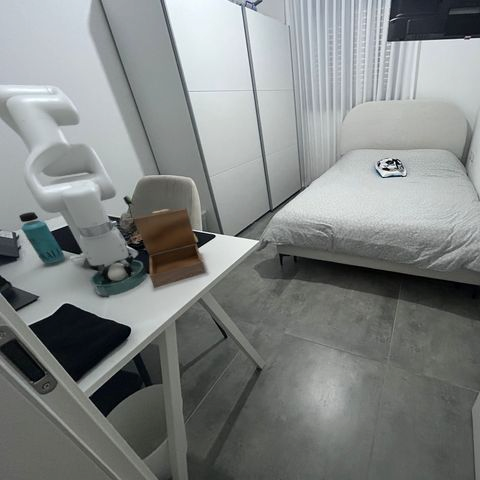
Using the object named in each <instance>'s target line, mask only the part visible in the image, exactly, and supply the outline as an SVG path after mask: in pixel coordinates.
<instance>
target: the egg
mask: <svg viewBox="0 0 480 480" xmlns="http://www.w3.org/2000/svg"><path fill="white" fill-rule="evenodd" d="M126 276H127V273H126V271H125V269H124V264H122V263H117V262H115V263H113V264H112V265H111V266H110V267H109V270H108V277H109V278H110V279H111V280H112V282H113V281H114V282H121V281H123V280H125V279H126Z"/></svg>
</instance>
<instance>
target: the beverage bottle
mask: <svg viewBox="0 0 480 480" xmlns="http://www.w3.org/2000/svg"><path fill="white" fill-rule="evenodd" d="M18 216H19V219H20V221H21V222H22V223H24V224H23V225H22V226H21V229H20V230H22V232H23V233H24V235H25V237H26V239H27V241H28V243H29V244H30V245H31V246H32V247H33V250H34V251H35V253H36V255H37V256H38V258H39V260H40V261H41V262H42V263H44V264H52V263H55V262H59V261H61V260H63V258H64V257H65V253H64V252H63V250H62V248H61V246H60V244H59V243H58V241H57V240H56V239H55V237H54V236H53V234H52V232H51V230H50V228H49V226H48V225H47V223H46V222H45V221H42V220H37V219H39V216H38V215H37V214H36V213H35V212H32V211H30V212H25V213H22V214H19V215H18Z"/></svg>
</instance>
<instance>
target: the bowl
mask: <svg viewBox="0 0 480 480" xmlns="http://www.w3.org/2000/svg"><path fill="white" fill-rule="evenodd" d="M116 263H122V262H121V261H116ZM122 264H123V263H122ZM111 265H112V264H111ZM111 265H108V266H105V267H106V268H108V270H109V267H110V266H111ZM130 265H131V268H132V270H133V273H135V274H133V275H131V277H127V278H124V279H122V280H120V281H116V282H113V280H112V281H111V282H110V283H108V281H107V280H105V279H104V277H103V275H102V273H99V272H98V271H95V273H93V275H92V276H91V277H90V280H89V282H90V284H91V286H92V287H93V289H94V291H95V292H96V294H97V295H99V296H103V297H104V296H105V297H110V296H115V295H120V294H123V293H126V292H128V291H131V290H133V289H134V288H136V287H138V286H139V285H141V284H142V283H143V282H144V281H145V280H146V278H147V277H148V272H147V270H146V268H145V265H144V263H143V262H142V261H140V260H137V259H133V261H132V262H131V263H130Z"/></svg>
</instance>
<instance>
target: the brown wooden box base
mask: <svg viewBox="0 0 480 480" xmlns="http://www.w3.org/2000/svg"><path fill="white" fill-rule="evenodd" d="M148 256H149V258H148V260H149V279H150V280H151V283H152V285H153V288H154V289H156V288H159V287H162V286H165V285H169V284H172V283H176V282H179V281H183V280H185V279H189V278H192V277H196V276H199V275H203V274H205V273H207V272H206V269H205V265H204V261H203V259H202V256H201V253H200V250H199V247H198V243H195V244H191V245H188V246H183V247H179V248H175V249H171V250H167V251H163V252H158V253H154V254H150V255H149V254H148Z"/></svg>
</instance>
